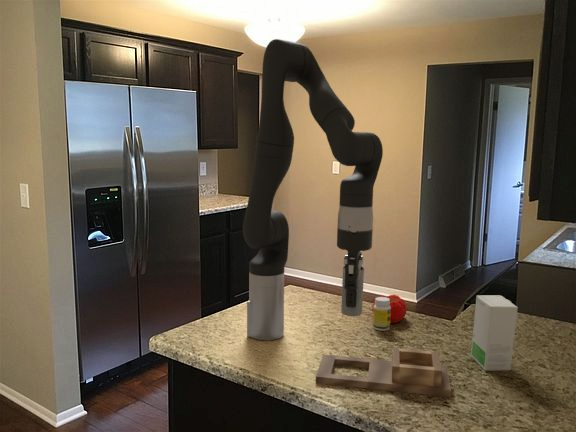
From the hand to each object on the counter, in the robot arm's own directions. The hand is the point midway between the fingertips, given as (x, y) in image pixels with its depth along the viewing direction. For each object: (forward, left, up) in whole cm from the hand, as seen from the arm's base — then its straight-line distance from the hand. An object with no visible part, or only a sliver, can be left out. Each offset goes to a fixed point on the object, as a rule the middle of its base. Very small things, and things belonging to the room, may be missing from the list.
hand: (351, 302), depth 115 cm
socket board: (+7, 0, -17) cm, 18 cm away
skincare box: (+32, +13, -17) cm, 39 cm away
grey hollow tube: (0, 0, -3) cm, 3 cm away
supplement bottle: (+6, +31, -17) cm, 36 cm away
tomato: (+8, +39, -17) cm, 43 cm away
